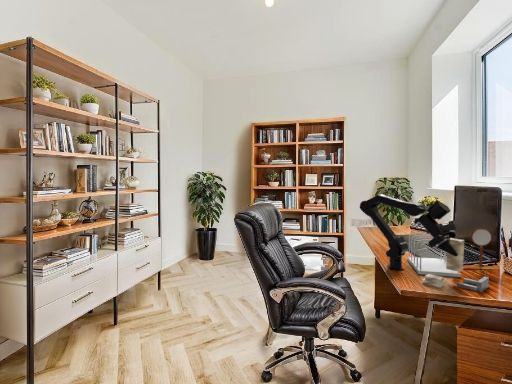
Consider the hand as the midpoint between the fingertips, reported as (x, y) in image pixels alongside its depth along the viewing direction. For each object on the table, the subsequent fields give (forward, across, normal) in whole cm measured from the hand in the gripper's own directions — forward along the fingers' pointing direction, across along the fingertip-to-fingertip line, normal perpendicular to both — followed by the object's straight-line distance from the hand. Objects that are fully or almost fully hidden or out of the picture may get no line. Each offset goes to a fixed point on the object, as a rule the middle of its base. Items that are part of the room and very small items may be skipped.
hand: (458, 255), depth 128 cm
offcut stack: (+4, -8, +14) cm, 17 cm away
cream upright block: (+4, 0, +6) cm, 7 cm away
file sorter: (-2, +14, +20) cm, 25 cm away
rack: (+12, 0, +6) cm, 13 cm away
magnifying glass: (+9, +29, +9) cm, 32 cm away
